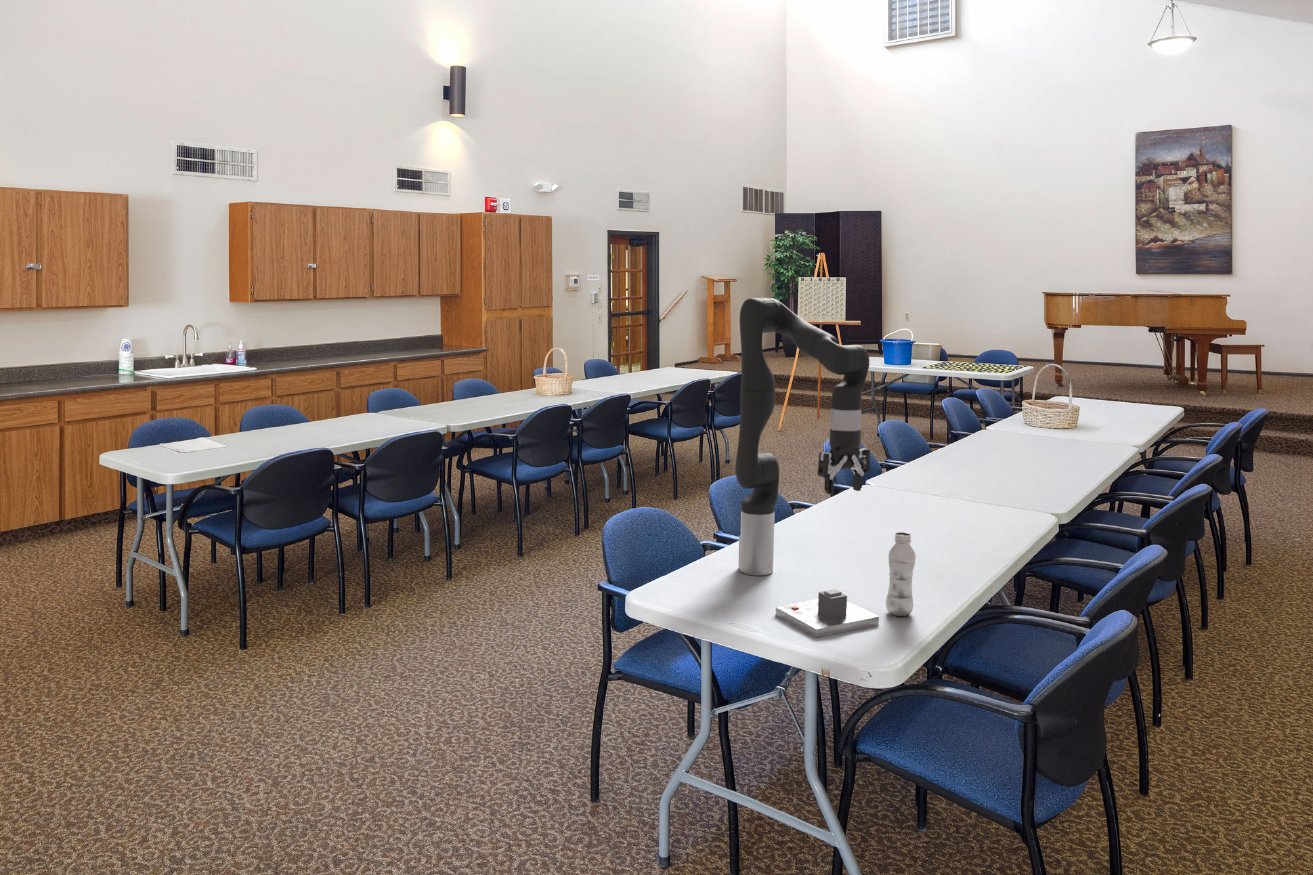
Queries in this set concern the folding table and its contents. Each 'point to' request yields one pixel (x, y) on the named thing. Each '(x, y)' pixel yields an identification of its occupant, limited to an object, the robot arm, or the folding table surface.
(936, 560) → the folding table surface
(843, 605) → the plug
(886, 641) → the folding table surface
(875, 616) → the socket plate
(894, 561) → the plastic bottle
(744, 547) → the robot arm
